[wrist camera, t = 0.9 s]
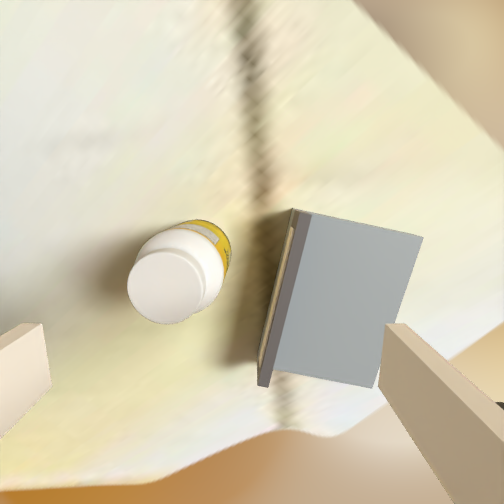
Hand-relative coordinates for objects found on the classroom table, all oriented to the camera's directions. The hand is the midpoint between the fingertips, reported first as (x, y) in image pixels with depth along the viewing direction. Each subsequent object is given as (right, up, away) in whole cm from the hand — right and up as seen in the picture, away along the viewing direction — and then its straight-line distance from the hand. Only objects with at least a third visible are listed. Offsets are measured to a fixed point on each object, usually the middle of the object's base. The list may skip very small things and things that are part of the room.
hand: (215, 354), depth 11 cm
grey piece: (+10, -1, +19) cm, 21 cm away
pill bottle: (-4, +4, +18) cm, 19 cm away
